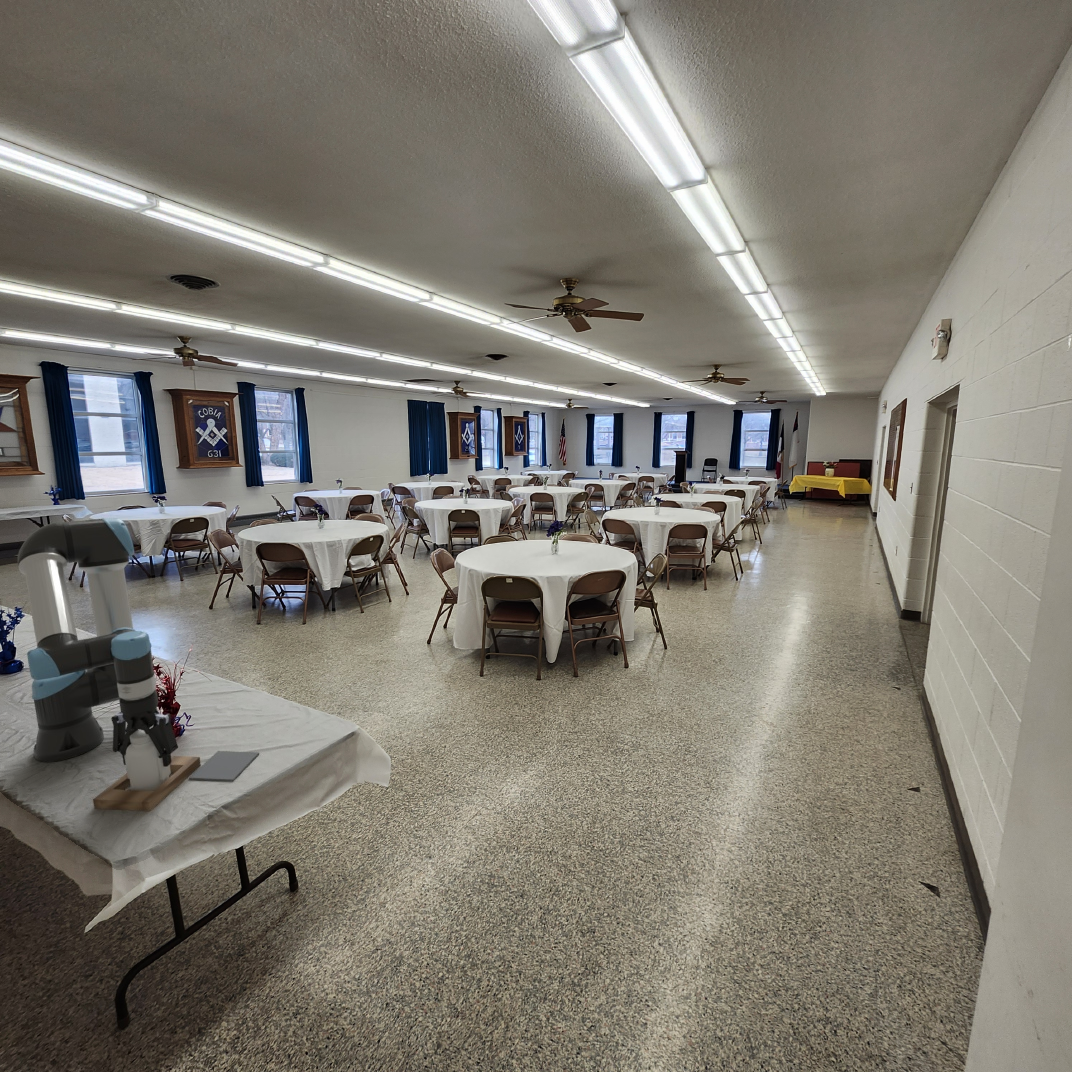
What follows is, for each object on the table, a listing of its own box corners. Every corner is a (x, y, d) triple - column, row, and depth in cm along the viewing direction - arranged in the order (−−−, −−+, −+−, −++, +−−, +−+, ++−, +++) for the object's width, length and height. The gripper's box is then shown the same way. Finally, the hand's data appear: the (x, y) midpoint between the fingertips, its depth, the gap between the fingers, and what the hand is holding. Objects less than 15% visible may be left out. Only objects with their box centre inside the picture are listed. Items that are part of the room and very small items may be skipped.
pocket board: (94, 808, 127) (92, 799, 127) (151, 763, 145) (150, 754, 145) (150, 810, 127) (148, 801, 126) (200, 765, 144) (199, 756, 144)
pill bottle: (125, 798, 131) (117, 743, 128) (139, 778, 139) (131, 726, 136) (162, 792, 133) (155, 738, 131) (174, 773, 141) (167, 722, 138)
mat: (188, 779, 139) (188, 777, 138) (218, 752, 150) (218, 750, 150) (233, 781, 138) (233, 779, 138) (259, 754, 150) (259, 752, 150)
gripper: (84, 699, 128) (98, 783, 132) (167, 702, 127) (178, 787, 131) (110, 685, 135) (122, 765, 140) (188, 688, 134) (198, 768, 139)
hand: (149, 775), depth 135 cm, fingers closed on pill bottle, 8 cm apart
